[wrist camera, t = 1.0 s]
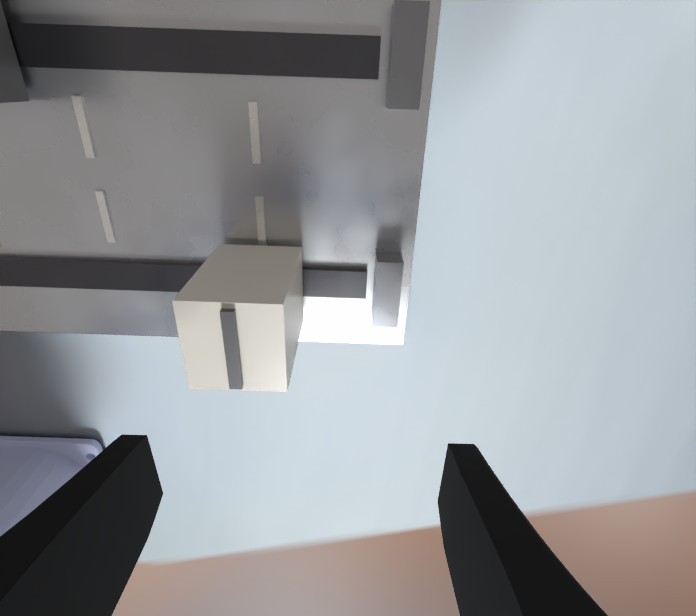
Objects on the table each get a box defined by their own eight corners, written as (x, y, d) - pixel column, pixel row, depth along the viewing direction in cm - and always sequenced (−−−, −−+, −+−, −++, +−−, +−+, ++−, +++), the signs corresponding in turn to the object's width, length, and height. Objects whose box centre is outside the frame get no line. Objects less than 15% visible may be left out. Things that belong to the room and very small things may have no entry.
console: (400, 330, 20) (405, 360, 18) (-107, 313, 20) (-162, 340, 18) (440, -48, 13) (456, -72, 11) (-319, -75, 13) (-446, -105, 11)
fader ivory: (303, 318, 18) (286, 395, 13) (227, 316, 18) (186, 392, 13) (301, 246, 16) (282, 307, 12) (219, 244, 16) (169, 303, 12)
